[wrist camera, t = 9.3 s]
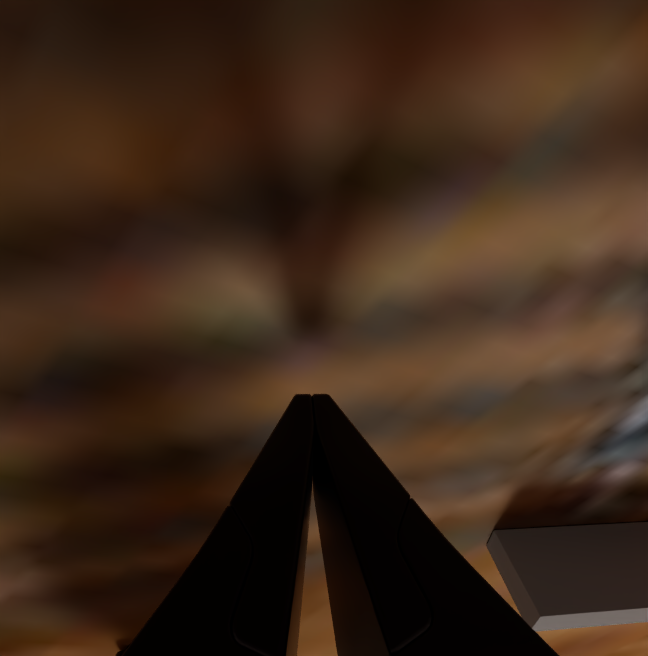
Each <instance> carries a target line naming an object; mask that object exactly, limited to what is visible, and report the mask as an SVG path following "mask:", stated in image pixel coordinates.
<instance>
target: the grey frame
mask: <svg viewBox="0 0 648 656" xmlns="http://www.w3.org/2000/svg"><path fill="white" fill-rule="evenodd" d="M487 548H488V550H489V552H490V554H491V556H492V558H493V560H494V562H495V564H496V566H497V568H498V570H499V572H500V574H501V576H502V578H503V580H504V582H505V584H506V586H507V588H508V590H509V592H510V594H511V596H512V598H513V600H514V602H515V604H516V606H517V608H518V610H519V612H520V614H521V616H522V618H523V619H524V620H525V621H526V622H527V624H528V625H529V626H530V627H531V628H532V629H533V630H534V631H547V630H558V629H570V628H582V627H593V626H605V625H616V624H628V623H640V622H648V522H634V523H616V524H598V525H580V526H562V527H544V528H525V529H507V530H494V531H493V533H492V535H491V537H490V540H489V542H488V544H487Z"/></svg>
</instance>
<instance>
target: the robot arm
mask: <svg viewBox="0 0 648 656" xmlns="http://www.w3.org/2000/svg"><path fill="white" fill-rule="evenodd" d="M312 481H313V492H314V500H315V507H316V513H317V520H318V527H319V533H320V540H321V547H322V554H323V560H324V567H325V574H326V580H327V587H328V594H329V600H330V607H331V614H332V621H333V627H334V634H335V641H336V647H337V654H338V656H559V655H558V654H557V653H556V652H555V651H554V650H553V649H552V648H551V647H550V646H549V645H548V644H547V643H546V642H545V641H544V640H543V639H542V638H541V637H540V636H539V635H538V634H537V633H536V632H535V631H534V630H533V629H532V628H531V627H530V626H529V625H528V624H527V622H526V621H525V620H524V619H523V618H522V617H521V616H520V615H519V614H518V613H517V612H516V611H515V610H514V609H513V608H512V607H511V606H510V605H509V604H508V603H507V602H506V601H505V600H504V599H503V598H502V597H501V596H500V595H499V594H498V593H497V592H496V591H495V589H494V588H493V587H492V586H491V585H490V584H489V583H488V582H487V581H486V580H485V579H484V578H483V577H482V576H481V575H480V574H479V573H478V572H477V571H476V570H475V569H474V568H473V567H472V566H471V565H470V564H469V563H468V561H467V560H466V559H465V558H464V557H463V556H462V555H461V554H460V553H459V552H458V551H457V550H456V549H455V548H454V546H453V545H452V544H451V543H450V542H449V541H448V540H447V539H446V538H445V537H444V535H443V534H442V533H441V532H440V531H439V530H438V528H437V527H436V526H435V525H434V524H433V522H432V521H431V520H430V519H429V518H428V517H427V515H426V514H425V513H424V512H423V511H422V509H421V508H420V507H419V506H418V504H417V503H416V502H415V501H414V499H412V498H411V499H410V495H409V493H408V492H407V491H406V490H405V488H404V487H403V486H402V485H401V483H400V482H399V481H398V480H397V478H396V477H395V476H394V475H393V473H392V472H391V471H390V470H389V468H388V467H387V466H386V465H385V464H384V462H383V461H382V460H381V459H380V457H379V456H378V455H377V454H376V452H375V451H374V450H373V449H372V447H371V446H370V445H369V444H368V442H367V441H366V440H365V439H364V437H363V436H362V435H361V434H360V433H359V431H358V430H357V429H356V428H355V426H354V425H353V424H352V423H351V421H350V420H349V419H348V418H347V416H346V415H345V414H344V413H343V411H342V410H341V409H340V408H339V406H338V405H337V404H336V403H335V402H334V400H333V399H332V398H331V397H330V395H328V394H314V395H313V396H311V395H310V394H296V395H295V396H294V397H293V399H292V400H291V402H290V404H289V405H288V407H287V409H286V410H285V412H284V414H283V415H282V417H281V419H280V420H279V422H278V424H277V425H276V427H275V429H274V430H273V432H272V434H271V435H270V437H269V439H268V440H267V442H266V443H265V445H264V447H263V448H262V450H261V452H260V453H259V455H258V457H257V458H256V460H255V462H254V463H253V465H252V467H251V468H250V470H249V472H248V473H247V475H246V477H245V478H244V480H243V482H242V483H241V485H240V487H239V488H238V490H237V491H236V493H235V495H234V496H233V498H232V500H231V501H230V506H227V508H226V509H225V511H224V513H223V514H222V516H221V518H220V519H219V521H218V523H217V524H216V526H215V527H214V529H213V530H212V532H211V534H210V535H209V537H208V538H207V540H206V541H205V543H204V544H203V546H202V547H201V549H200V551H199V552H198V554H197V555H196V556H195V558H194V559H193V561H192V562H191V563H190V565H189V566H188V567H187V569H186V570H185V572H184V573H183V574H182V576H181V577H180V579H179V580H178V581H177V583H176V584H175V586H174V587H173V588H172V590H171V591H170V592H169V594H168V595H167V596H166V598H165V599H164V600H163V601H162V603H161V604H160V605H159V607H158V608H157V609H156V611H155V612H154V613H153V615H152V616H151V617H150V619H149V620H148V621H147V623H146V624H145V625H144V627H143V628H142V629H141V631H140V632H139V633H138V635H137V636H136V637H135V639H134V640H133V641H132V643H131V644H130V645H129V647H128V648H127V649H126V650H123V651H119V652H118V653H117V654H116V656H297V648H298V637H299V626H300V616H301V605H302V594H303V583H304V572H305V561H306V550H307V539H308V528H309V517H310V506H311V494H312Z"/></svg>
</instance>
